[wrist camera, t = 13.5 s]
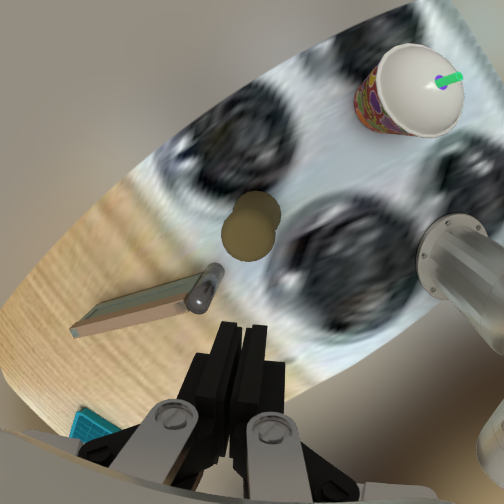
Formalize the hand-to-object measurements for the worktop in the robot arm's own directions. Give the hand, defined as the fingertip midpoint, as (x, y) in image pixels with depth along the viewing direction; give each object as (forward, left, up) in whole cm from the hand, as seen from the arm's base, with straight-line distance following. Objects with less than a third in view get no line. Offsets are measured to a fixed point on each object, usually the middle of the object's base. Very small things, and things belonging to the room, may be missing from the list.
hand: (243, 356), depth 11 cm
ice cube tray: (+37, +55, -30) cm, 73 cm away
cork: (+2, +1, -29) cm, 29 cm away
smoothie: (-12, -14, -29) cm, 35 cm away
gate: (+17, +13, -28) cm, 36 cm away
